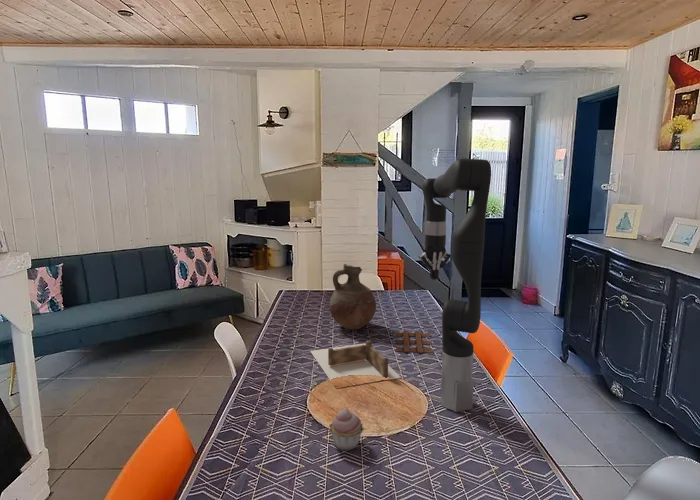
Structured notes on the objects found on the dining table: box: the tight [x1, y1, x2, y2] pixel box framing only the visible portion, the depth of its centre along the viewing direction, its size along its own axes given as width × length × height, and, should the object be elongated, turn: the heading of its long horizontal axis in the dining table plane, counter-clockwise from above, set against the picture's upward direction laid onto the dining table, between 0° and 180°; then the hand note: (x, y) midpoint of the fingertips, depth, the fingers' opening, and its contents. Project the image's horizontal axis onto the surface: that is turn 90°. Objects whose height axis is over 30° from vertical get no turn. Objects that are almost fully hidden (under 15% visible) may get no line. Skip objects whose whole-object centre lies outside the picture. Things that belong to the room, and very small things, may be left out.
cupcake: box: [328, 407, 365, 451], centre depth 119 cm, size 9×9×10 cm
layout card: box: [310, 342, 402, 381], centre depth 170 cm, size 34×24×1 cm
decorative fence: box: [395, 330, 435, 354], centre depth 191 cm, size 23×2×15 cm
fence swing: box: [327, 345, 366, 365], centre depth 169 cm, size 15×2×6 cm, turn 113°
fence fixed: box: [365, 340, 389, 378], centre depth 165 cm, size 18×2×8 cm, turn 20°
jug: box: [328, 263, 377, 330], centre depth 207 cm, size 22×22×30 cm
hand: (434, 279), depth 168 cm, fingers closed
